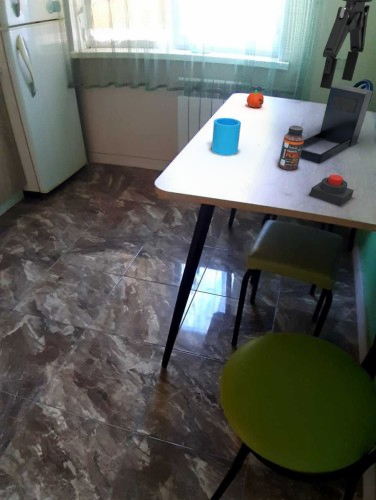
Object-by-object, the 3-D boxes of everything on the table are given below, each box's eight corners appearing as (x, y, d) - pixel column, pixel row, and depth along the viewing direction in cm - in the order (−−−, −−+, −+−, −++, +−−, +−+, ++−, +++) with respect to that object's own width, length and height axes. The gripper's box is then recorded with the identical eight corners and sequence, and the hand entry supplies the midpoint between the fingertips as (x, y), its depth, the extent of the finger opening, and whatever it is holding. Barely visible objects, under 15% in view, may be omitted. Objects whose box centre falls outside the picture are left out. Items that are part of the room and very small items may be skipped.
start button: (343, 183, 109) (345, 177, 108) (337, 187, 107) (339, 181, 106) (331, 179, 111) (332, 173, 109) (325, 183, 109) (326, 177, 107)
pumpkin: (262, 104, 175) (265, 87, 171) (262, 110, 169) (265, 92, 165) (246, 103, 176) (248, 86, 171) (245, 108, 170) (247, 91, 166)
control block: (351, 197, 111) (356, 183, 108) (340, 206, 107) (345, 191, 104) (321, 187, 115) (325, 173, 112) (309, 195, 111) (313, 180, 108)
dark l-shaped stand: (357, 142, 145) (372, 91, 134) (320, 163, 128) (334, 107, 117) (326, 134, 150) (338, 84, 139) (286, 153, 134) (297, 98, 123)
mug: (235, 156, 130) (238, 127, 124) (209, 153, 131) (211, 124, 125) (241, 143, 139) (244, 116, 133) (216, 140, 140) (218, 113, 134)
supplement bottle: (282, 171, 123) (290, 130, 115) (275, 163, 127) (282, 124, 119) (300, 170, 124) (309, 130, 116) (293, 162, 128) (301, 123, 120)
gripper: (355, -19, 87) (329, 94, 101) (395, -20, 101) (367, 79, 116) (323, -21, 90) (302, 88, 105) (365, -22, 105) (342, 74, 119)
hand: (336, 84), depth 110 cm, fingers open, 13 cm apart
